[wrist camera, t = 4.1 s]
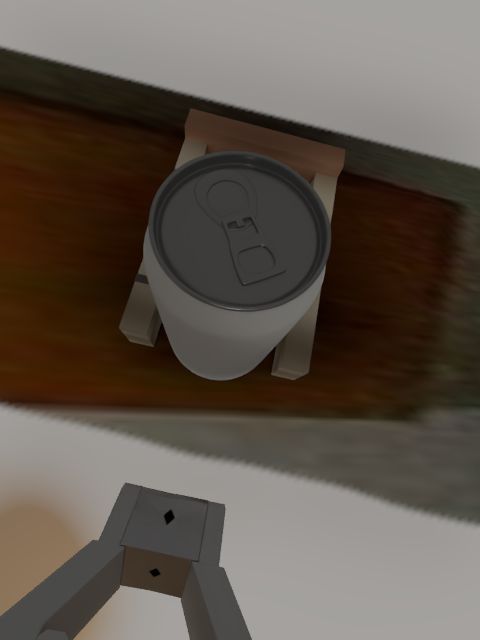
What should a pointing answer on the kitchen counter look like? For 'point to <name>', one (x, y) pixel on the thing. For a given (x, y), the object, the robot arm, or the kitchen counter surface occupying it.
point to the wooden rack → (298, 153)
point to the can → (234, 258)
